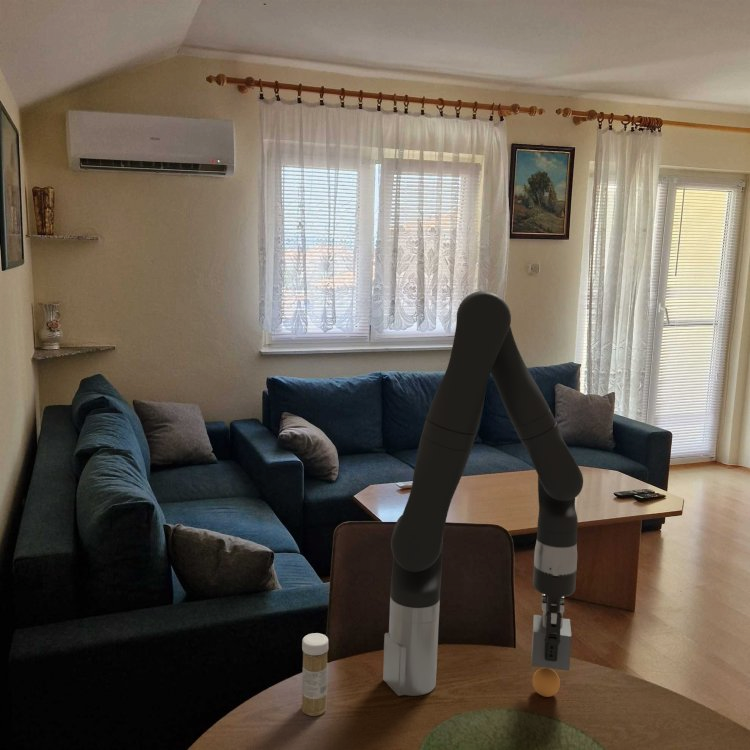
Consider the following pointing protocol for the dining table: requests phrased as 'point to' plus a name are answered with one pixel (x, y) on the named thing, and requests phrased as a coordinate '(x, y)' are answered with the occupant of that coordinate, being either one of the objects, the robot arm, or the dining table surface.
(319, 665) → the sprinkles bottle
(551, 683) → the ball
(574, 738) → the dining table surface
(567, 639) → the matte gray cube
